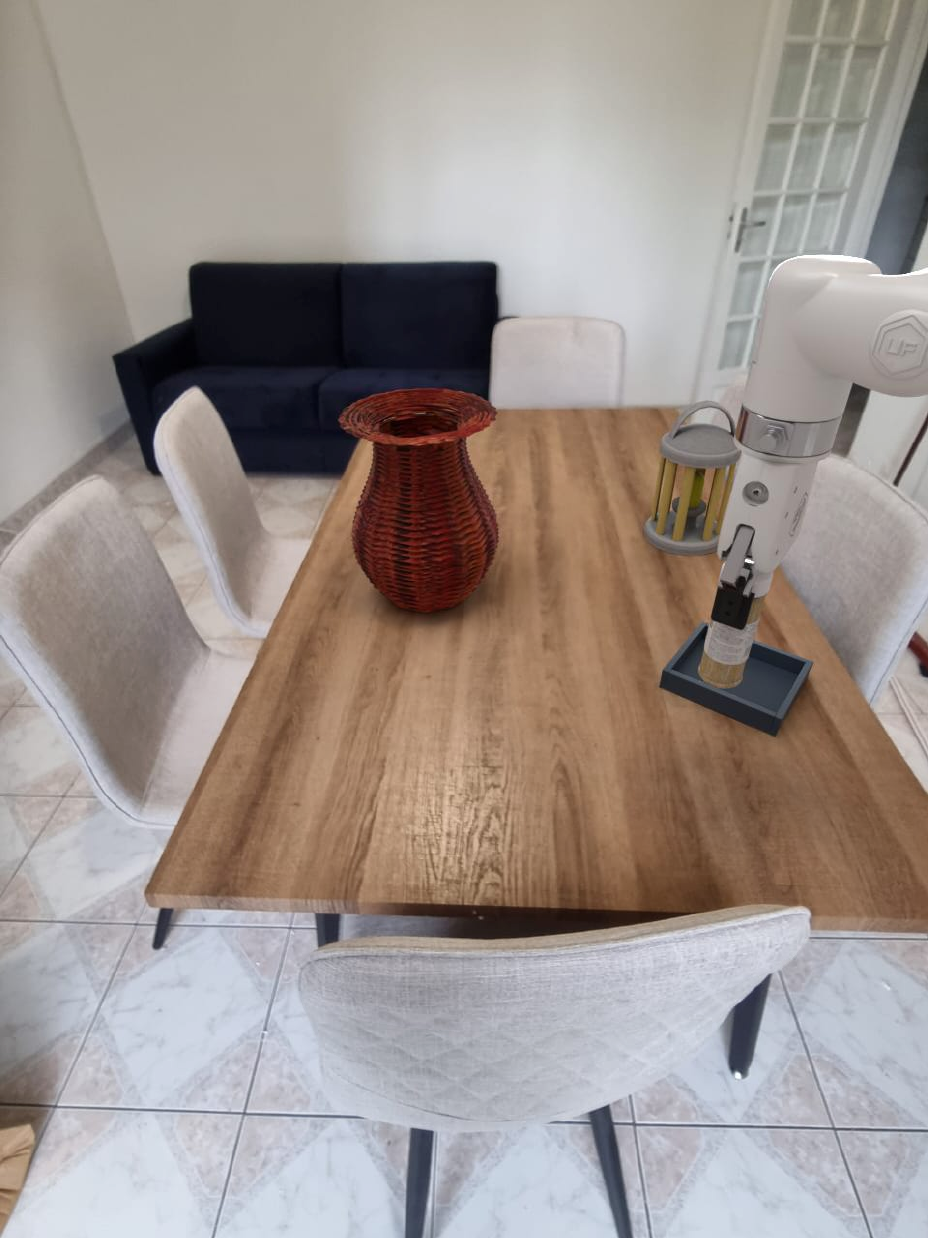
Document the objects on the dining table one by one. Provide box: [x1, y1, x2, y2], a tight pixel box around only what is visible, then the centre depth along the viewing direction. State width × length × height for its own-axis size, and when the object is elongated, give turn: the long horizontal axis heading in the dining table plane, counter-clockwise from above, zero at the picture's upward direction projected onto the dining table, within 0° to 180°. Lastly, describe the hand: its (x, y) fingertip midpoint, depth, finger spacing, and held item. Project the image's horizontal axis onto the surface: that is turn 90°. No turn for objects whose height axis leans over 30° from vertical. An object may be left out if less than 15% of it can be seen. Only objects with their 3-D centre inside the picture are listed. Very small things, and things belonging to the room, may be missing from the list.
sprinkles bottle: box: [698, 558, 774, 689], centre depth 67 cm, size 5×5×13 cm
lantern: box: [643, 399, 742, 557], centre depth 117 cm, size 14×14×25 cm
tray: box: [659, 620, 814, 737], centre depth 92 cm, size 16×14×3 cm
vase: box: [337, 387, 500, 613], centre depth 104 cm, size 23×24×30 cm
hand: (737, 608), depth 66 cm, fingers closed on sprinkles bottle, 4 cm apart
